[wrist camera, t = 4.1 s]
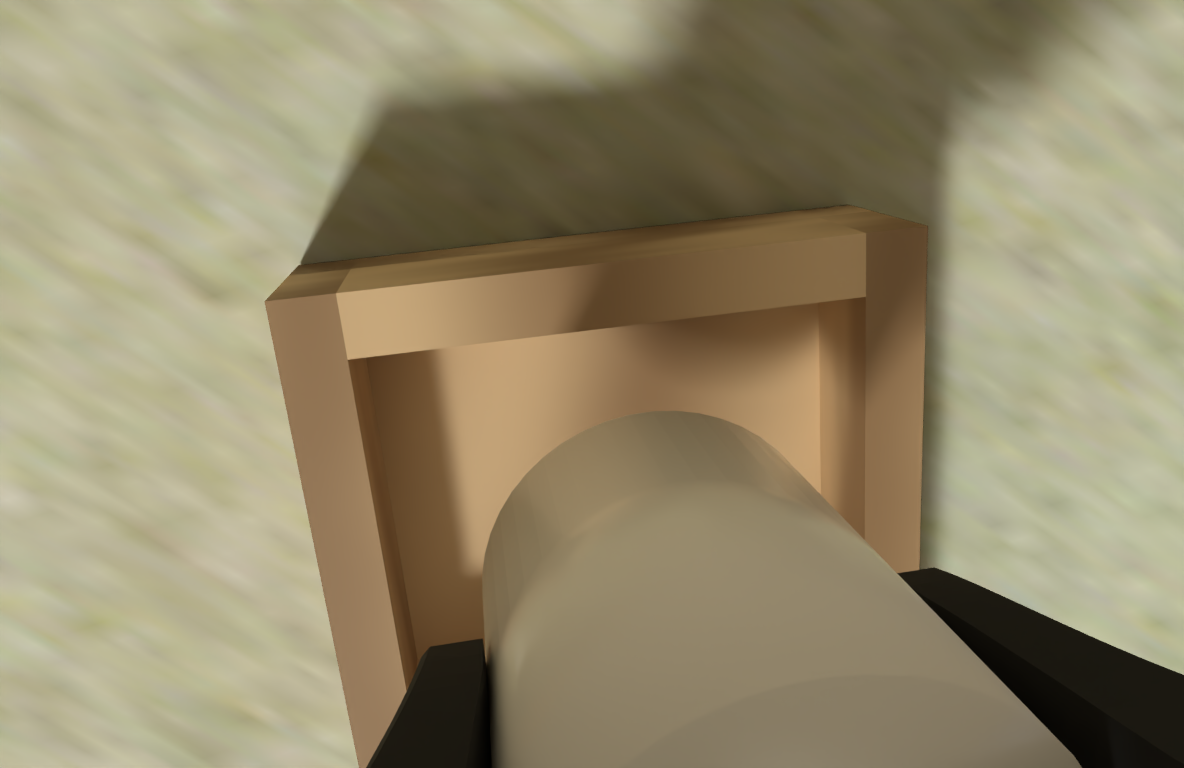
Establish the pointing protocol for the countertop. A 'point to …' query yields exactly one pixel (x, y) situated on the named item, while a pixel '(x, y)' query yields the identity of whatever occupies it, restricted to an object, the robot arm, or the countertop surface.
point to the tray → (581, 395)
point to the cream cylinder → (719, 621)
